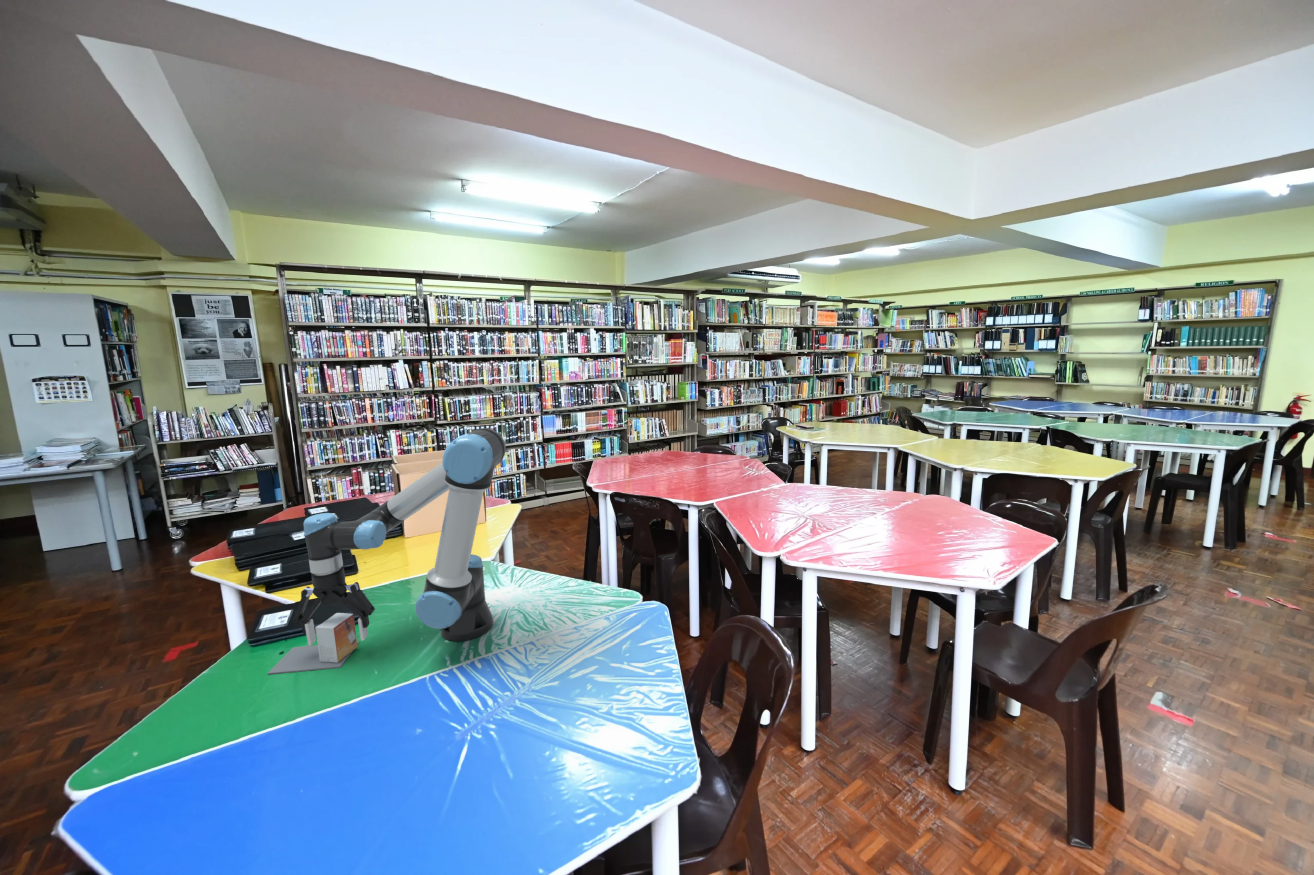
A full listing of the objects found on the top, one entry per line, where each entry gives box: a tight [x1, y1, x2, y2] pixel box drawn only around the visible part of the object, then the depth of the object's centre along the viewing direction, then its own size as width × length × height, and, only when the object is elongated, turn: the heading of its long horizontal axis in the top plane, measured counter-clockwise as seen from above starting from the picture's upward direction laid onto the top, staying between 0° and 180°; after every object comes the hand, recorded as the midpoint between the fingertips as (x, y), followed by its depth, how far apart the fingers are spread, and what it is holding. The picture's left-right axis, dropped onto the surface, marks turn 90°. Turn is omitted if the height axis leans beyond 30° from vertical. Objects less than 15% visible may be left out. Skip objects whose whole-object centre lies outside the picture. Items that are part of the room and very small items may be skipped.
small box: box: [314, 612, 358, 663], centre depth 141 cm, size 8×6×10 cm
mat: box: [267, 640, 360, 676], centre depth 141 cm, size 18×12×1 cm, turn 98°
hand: (338, 640), depth 141 cm, fingers open, 13 cm apart
